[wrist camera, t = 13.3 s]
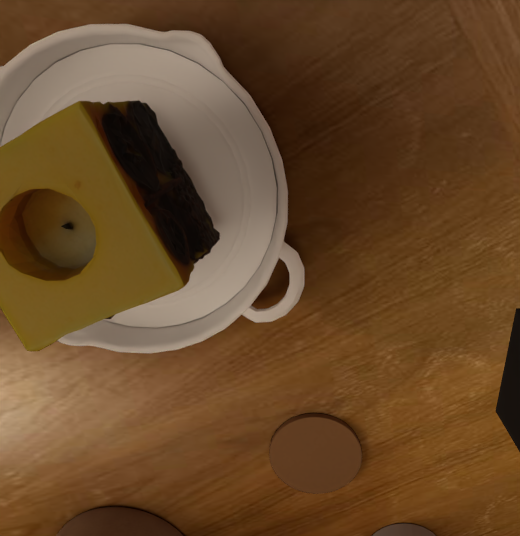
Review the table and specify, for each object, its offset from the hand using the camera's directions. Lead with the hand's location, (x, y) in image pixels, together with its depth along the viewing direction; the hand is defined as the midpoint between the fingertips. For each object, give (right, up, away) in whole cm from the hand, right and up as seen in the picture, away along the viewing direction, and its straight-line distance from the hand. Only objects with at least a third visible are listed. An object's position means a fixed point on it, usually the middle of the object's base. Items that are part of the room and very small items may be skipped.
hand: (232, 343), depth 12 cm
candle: (-9, +6, +22) cm, 24 cm away
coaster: (+5, -14, +31) cm, 35 cm away
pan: (-8, +7, +26) cm, 28 cm away
